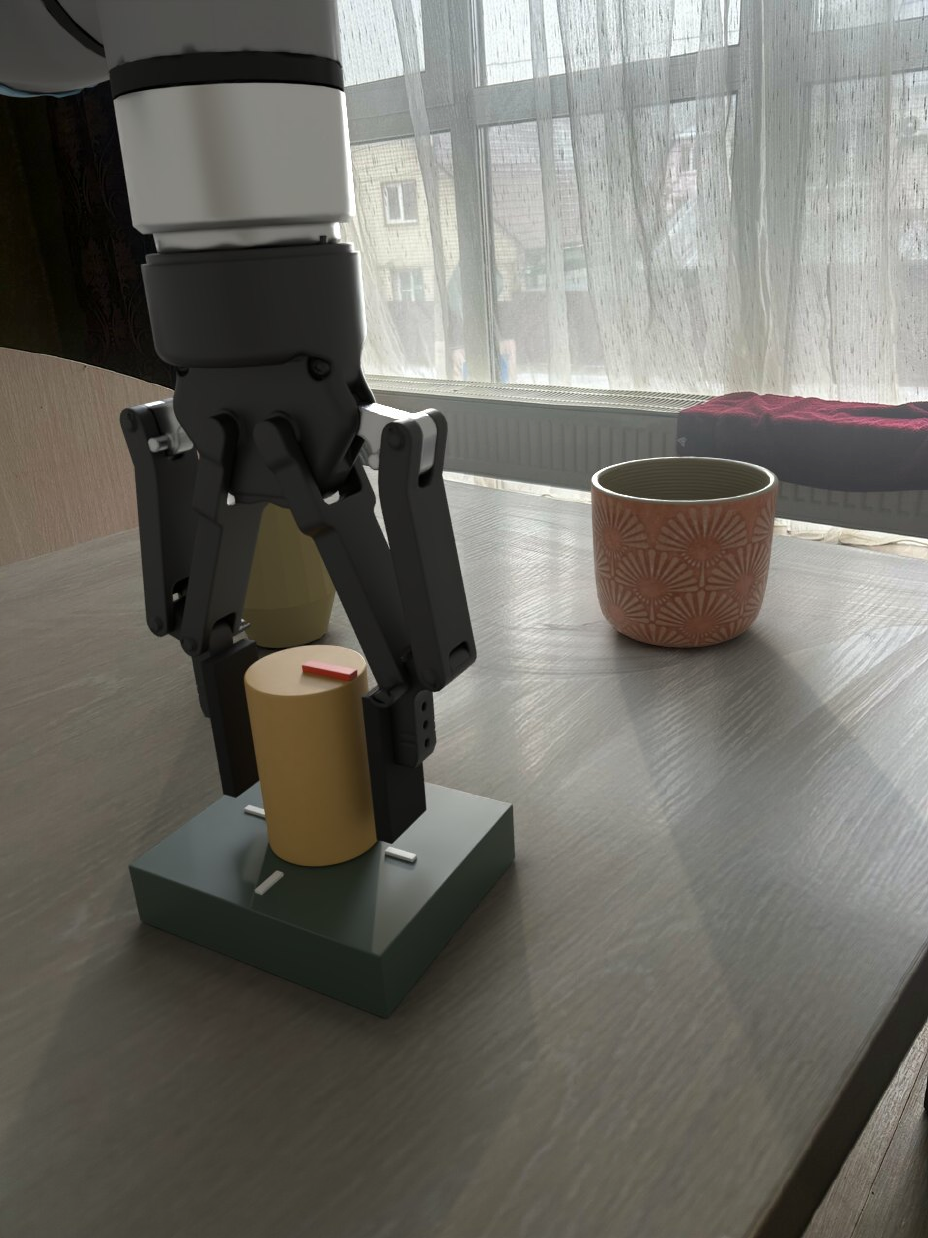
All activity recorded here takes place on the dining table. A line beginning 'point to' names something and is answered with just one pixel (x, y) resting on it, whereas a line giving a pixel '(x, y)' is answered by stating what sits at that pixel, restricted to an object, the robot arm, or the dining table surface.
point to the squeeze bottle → (286, 585)
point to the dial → (312, 753)
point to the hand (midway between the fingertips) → (322, 801)
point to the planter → (682, 547)
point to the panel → (328, 894)
